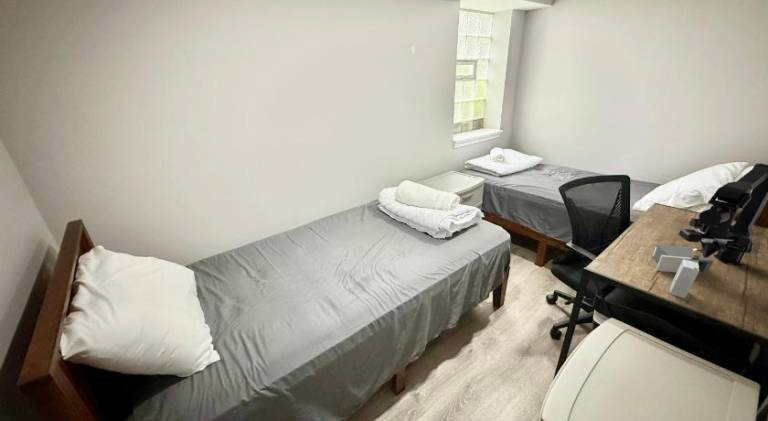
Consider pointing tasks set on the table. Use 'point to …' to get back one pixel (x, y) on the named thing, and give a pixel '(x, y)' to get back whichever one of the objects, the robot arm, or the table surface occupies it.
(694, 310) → the table surface
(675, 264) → the side door
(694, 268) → the skincare box
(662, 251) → the case
